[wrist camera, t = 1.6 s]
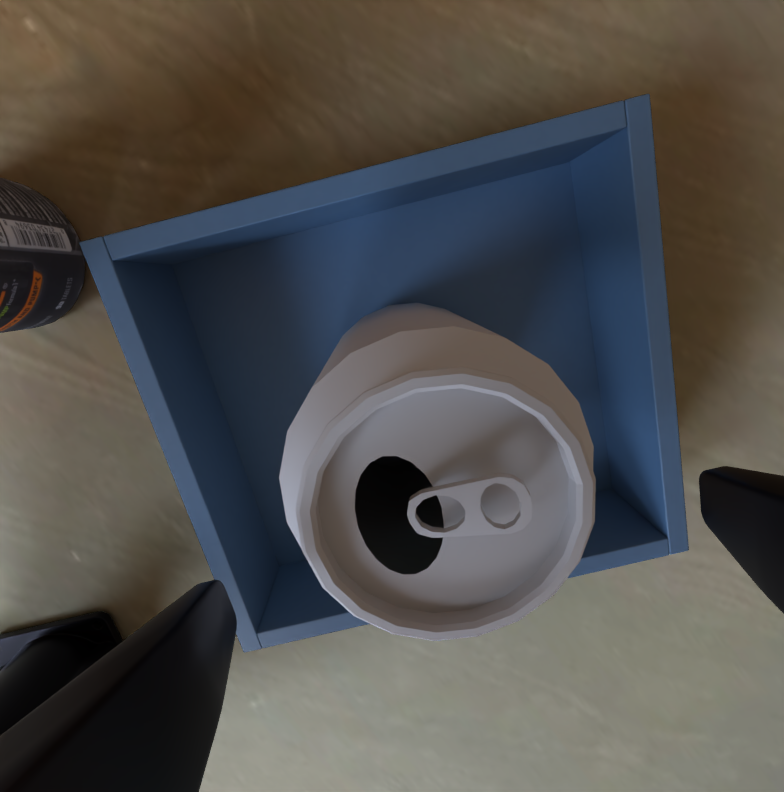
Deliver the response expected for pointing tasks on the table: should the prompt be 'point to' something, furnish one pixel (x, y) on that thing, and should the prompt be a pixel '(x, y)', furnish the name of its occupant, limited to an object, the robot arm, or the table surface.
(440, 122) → the table surface
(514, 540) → the can
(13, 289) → the pill bottle
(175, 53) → the table surface
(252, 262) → the tub
